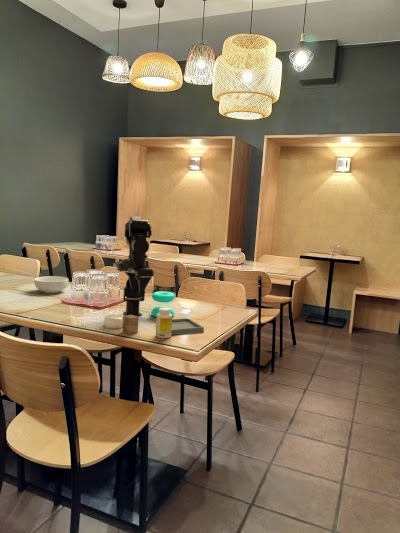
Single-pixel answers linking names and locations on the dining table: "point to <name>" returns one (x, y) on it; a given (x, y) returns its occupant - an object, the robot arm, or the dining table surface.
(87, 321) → the dining table surface
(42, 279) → the cereal bowl
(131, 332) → the walnut block
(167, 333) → the supplement bottle
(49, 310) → the dining table surface
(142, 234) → the robot arm
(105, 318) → the cream rounded block
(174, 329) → the slate tray
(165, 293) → the donuts
